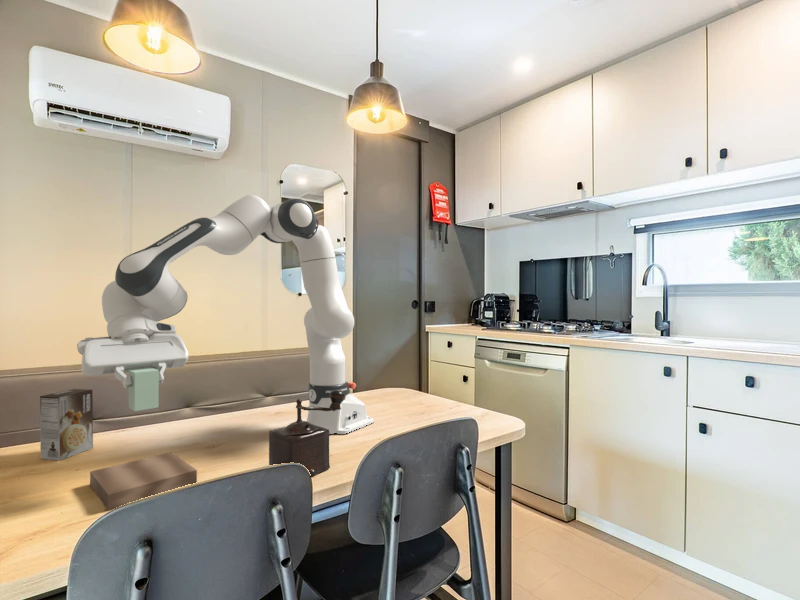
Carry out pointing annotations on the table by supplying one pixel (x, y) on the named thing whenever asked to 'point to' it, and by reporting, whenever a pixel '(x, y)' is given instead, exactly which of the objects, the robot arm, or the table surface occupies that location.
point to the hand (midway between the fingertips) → (144, 383)
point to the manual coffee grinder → (304, 439)
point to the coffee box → (66, 423)
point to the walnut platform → (140, 479)
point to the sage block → (144, 389)
